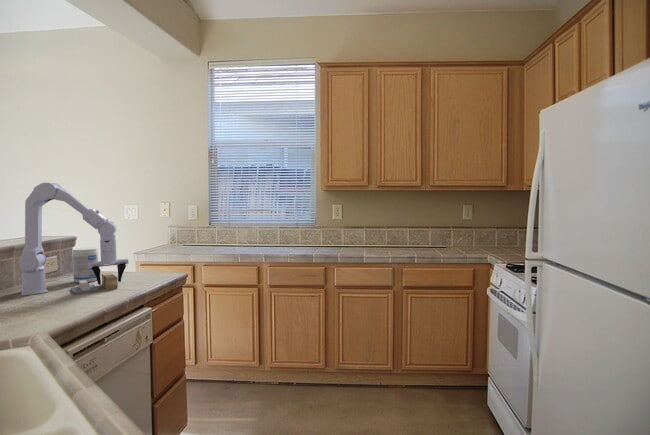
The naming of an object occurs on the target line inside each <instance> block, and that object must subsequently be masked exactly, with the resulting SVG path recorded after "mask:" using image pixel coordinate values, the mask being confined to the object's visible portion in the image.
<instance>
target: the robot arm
mask: <svg viewBox="0 0 650 435" xmlns="http://www.w3.org/2000/svg"><path fill="white" fill-rule="evenodd" d="M54 200H56V201H61V202H65V204H67V205H69V206H70V207H72V209H74V210H76V211H77V212H79V213H80V214H81V215H82V220H84V222H86V223H87V224H88V225H89V226H91V227H92V228H93V229H95V230H97V233H98V234H99V236H100V241H99V243H100V245H99V246H100V248H99V249H100V251H99V252H100V261H99V260H98V262H93V263H88V268H91V269H92V270H93V272H94V274H95V276H96V278H97V280H96V281H97V285H99V286H100V285H102V279H101V269H100V268H101V267H102V268H103V267H111V266H116V268H117V283H118V282H119V283H121V282H122V277H123V274H124V271H125V269H126V267H127V265H129V259H128V258H124V259H117V239H116V231H117V226H116V224H115V222H113V221H110V219H109V218H106V217H105V216H103V215H102V214H101V211H100V210H99V209H94V208H88V207H87V206H86V205H85V204H84V203H82V202H81V201H80V200H79V199H78V198H77V197H76V196H74V195H73V194H72V193H71V192H70V191H68V190H67V188H64V187H62V186H61V185H60V184H58V183H54V182H52V183H50V182H41V183H40V184H38V185H36V186H34V188H33V190H32V192H30V194H29V195H28V196H27V197H26V199H25V203H24V205H25V206H24V209H25V210H24V215H25V216H24V247H23V250H22V252H21V257H20V259H19V260H18V266H19V268H20V269H21V281H22V282H21V284H22V285H21V287H22V289H21V290H20V292H21V296H23V297H24V296H31V295H38V294H45V293H48V292H49V290H48V289H47V287H46V286H47V285H46V270H45V269H46V267H45V266H44V265H45V264H46V263H47V257H46V255H45V252H44V250H45V249H44V248H43V245H42V244H43V243H42V242H43V240H42V238H43V237H42V234H43V232H42V231H43V230H42V227H43V223H42V222H43V220H42V219H43V213H42V212H43V211H42V210H43V206H45V205H46V204H48V203H49V202H50V201H54Z"/></svg>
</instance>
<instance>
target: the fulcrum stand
mask: <svg viewBox="0 0 650 435" xmlns="http://www.w3.org/2000/svg"><path fill="white" fill-rule="evenodd" d="M78 285H79V286H71V287H70V291H71V292H72V293H73V295H79V294H86V293H87V294H88V293H93V292H94V293H95V292H98V291H99V288H98V286H96V285H95V284H90V282H87V281H86V280H83V281H79V283H78Z"/></svg>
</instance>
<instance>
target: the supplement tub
mask: <svg viewBox="0 0 650 435" xmlns="http://www.w3.org/2000/svg"><path fill="white" fill-rule="evenodd" d="M93 262H99V252H98V247H93V246H91V247H89V246H87V247H78V248H77V247H76V248H74V249H72V267H73V268H72V270H73V282H74V283H76V284H79V281H83V280H86V281H87V282H88V283H92V282H96V281H97V278H96V276H95V274H94V272H93V270H92V269H91V268H88V263H93Z"/></svg>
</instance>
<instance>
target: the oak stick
mask: <svg viewBox="0 0 650 435" xmlns="http://www.w3.org/2000/svg"><path fill="white" fill-rule="evenodd" d="M101 285H102V286H103V287H104V288H105V289H106V290H107V291H111V290H118V276H116V275H114V274H113V273H112V272H106V273H101Z"/></svg>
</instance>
